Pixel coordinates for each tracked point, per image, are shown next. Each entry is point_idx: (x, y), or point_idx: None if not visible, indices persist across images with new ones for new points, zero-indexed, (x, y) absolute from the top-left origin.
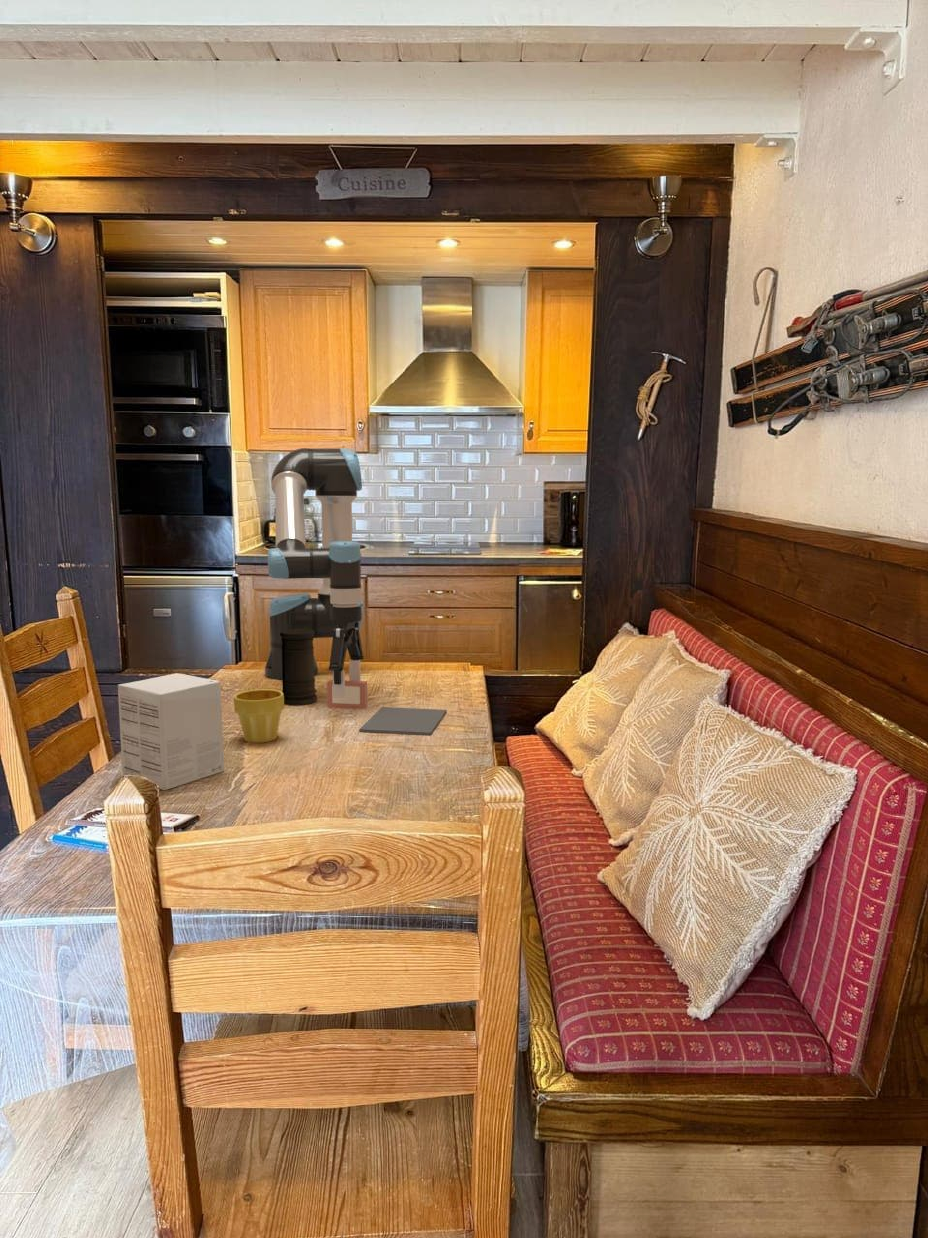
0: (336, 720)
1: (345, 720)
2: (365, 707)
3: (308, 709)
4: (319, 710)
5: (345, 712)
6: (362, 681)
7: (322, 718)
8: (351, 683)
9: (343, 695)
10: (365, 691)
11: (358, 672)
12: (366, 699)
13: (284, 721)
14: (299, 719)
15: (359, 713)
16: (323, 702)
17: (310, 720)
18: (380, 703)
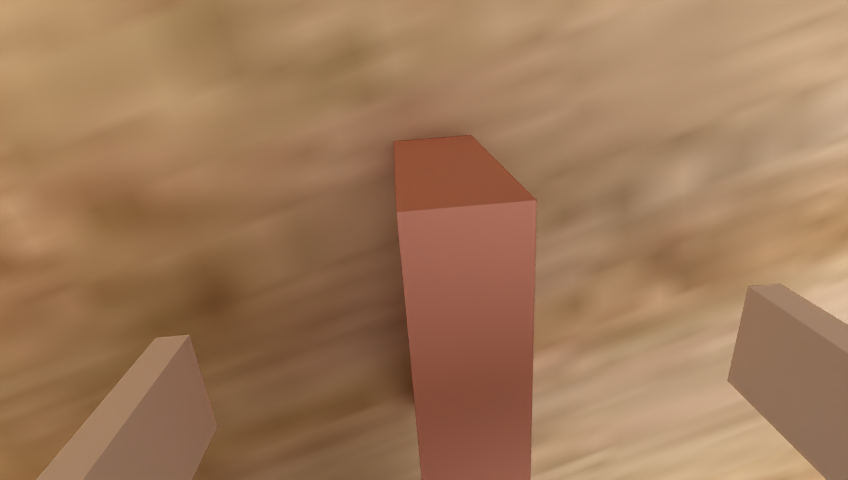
0: (824, 220)
1: (829, 158)
2: (455, 137)
3: (551, 473)
4: (566, 413)
5: (599, 242)
6: (425, 271)
7: None
8: (529, 367)
9: (798, 300)
10: (473, 170)
11: (102, 475)
12: (421, 153)
13: (820, 474)
14: None
15: (620, 127)
16: (359, 467)
17: None
18: (238, 62)
